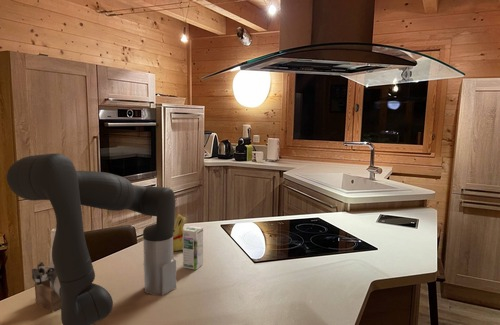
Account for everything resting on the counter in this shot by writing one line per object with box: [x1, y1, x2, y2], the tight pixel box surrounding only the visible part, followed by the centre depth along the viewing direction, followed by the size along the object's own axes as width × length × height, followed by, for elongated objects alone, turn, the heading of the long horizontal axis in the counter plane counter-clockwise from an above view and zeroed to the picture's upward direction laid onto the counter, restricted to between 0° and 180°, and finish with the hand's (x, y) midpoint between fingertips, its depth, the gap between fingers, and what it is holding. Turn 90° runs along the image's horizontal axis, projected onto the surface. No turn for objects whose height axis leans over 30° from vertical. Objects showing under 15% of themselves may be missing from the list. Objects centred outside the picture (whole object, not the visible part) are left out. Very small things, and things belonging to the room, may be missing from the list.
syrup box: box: [182, 225, 204, 271], centre depth 131 cm, size 6×6×14 cm
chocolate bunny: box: [173, 213, 187, 252], centre depth 146 cm, size 7×11×15 cm, turn 116°
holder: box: [34, 280, 62, 312], centre depth 106 cm, size 9×9×6 cm
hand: (57, 261), depth 105 cm, fingers open, 8 cm apart
